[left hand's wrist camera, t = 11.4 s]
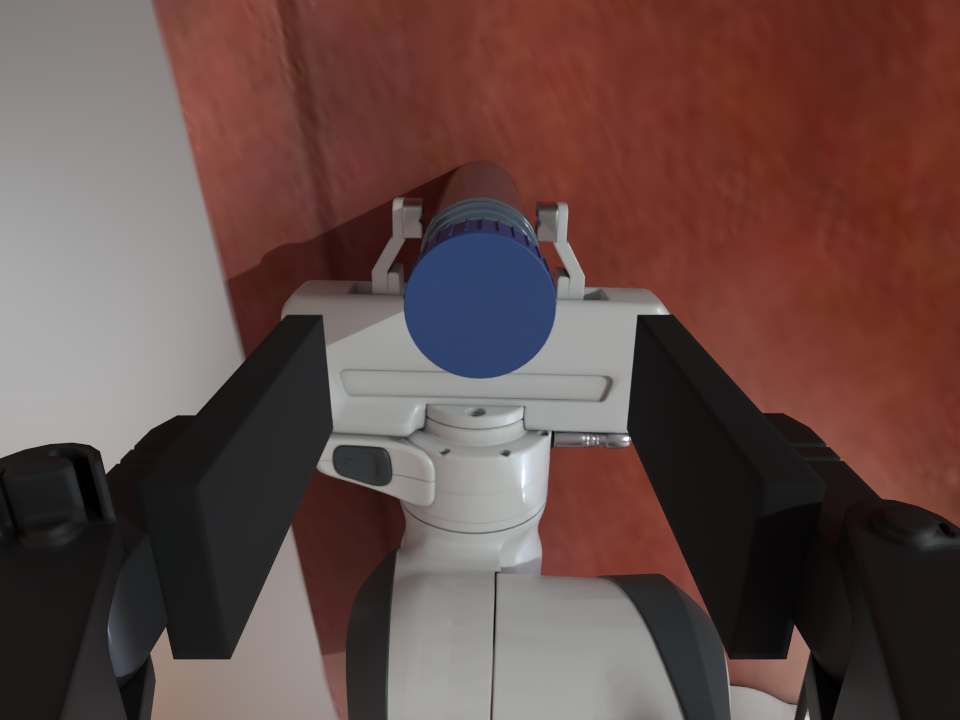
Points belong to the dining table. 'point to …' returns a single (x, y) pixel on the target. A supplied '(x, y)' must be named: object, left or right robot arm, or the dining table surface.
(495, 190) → the bottle
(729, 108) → the dining table surface
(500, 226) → the cap
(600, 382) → the right robot arm
